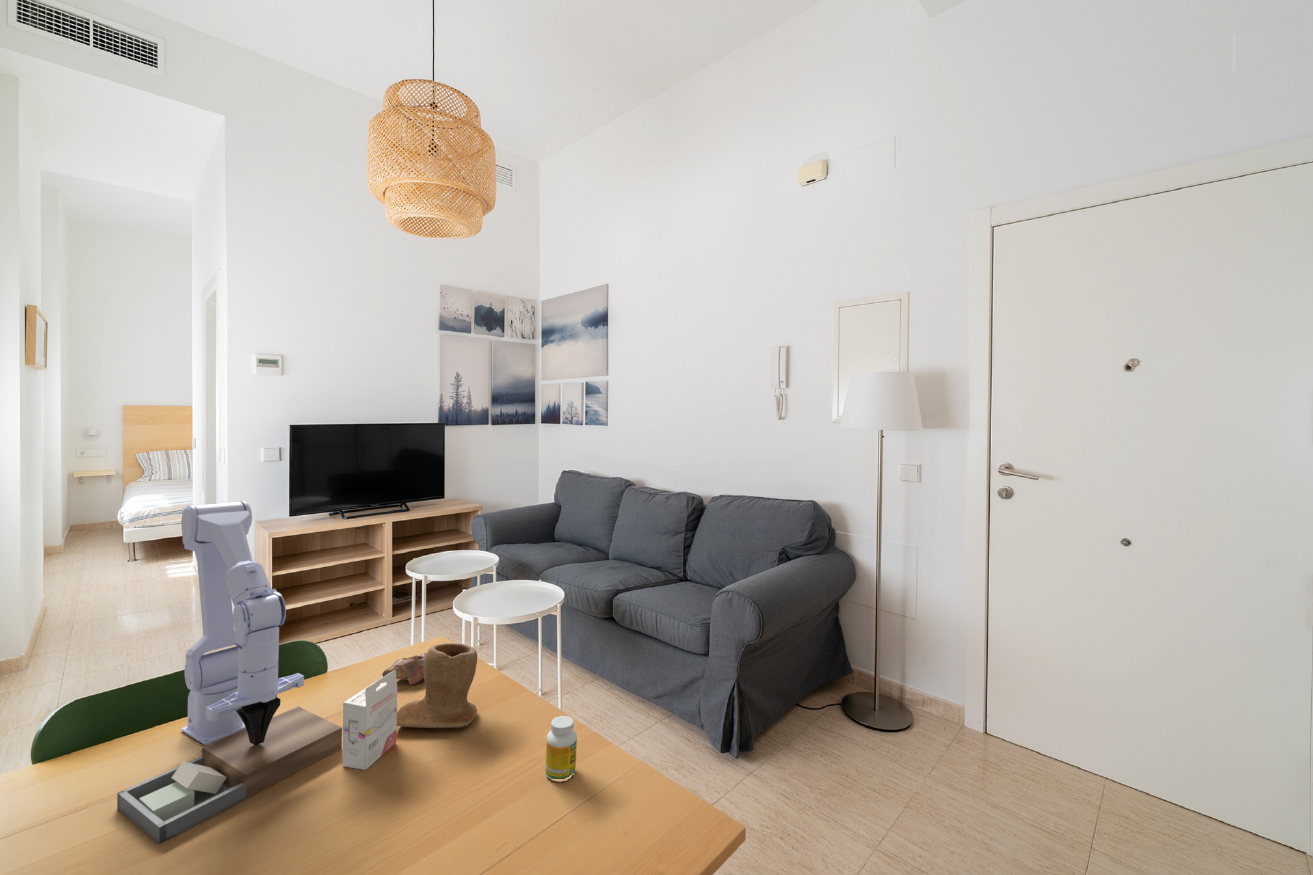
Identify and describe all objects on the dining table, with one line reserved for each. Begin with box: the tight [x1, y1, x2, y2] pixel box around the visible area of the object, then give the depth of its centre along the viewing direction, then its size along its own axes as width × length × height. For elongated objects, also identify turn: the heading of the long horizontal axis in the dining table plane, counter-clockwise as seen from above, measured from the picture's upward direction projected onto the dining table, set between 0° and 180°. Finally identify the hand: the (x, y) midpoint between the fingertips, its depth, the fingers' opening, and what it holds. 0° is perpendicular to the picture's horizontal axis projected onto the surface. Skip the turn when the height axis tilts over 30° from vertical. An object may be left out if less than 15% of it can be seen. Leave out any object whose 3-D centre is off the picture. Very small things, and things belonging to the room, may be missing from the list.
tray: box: [116, 755, 246, 845], centre depth 87 cm, size 14×11×2 cm
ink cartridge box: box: [342, 670, 398, 771], centre depth 101 cm, size 9×5×15 cm, turn 168°
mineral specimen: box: [382, 652, 427, 686], centre depth 131 cm, size 12×8×7 cm, turn 162°
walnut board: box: [201, 706, 343, 800], centre depth 99 cm, size 14×16×4 cm
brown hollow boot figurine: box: [396, 642, 478, 729], centre depth 114 cm, size 15×12×15 cm
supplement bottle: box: [545, 715, 578, 779], centre depth 99 cm, size 5×5×10 cm
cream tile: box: [172, 760, 227, 794], centre depth 89 cm, size 5×5×2 cm
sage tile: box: [139, 782, 194, 821], centre depth 85 cm, size 5×5×2 cm
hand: (256, 741), depth 97 cm, fingers closed
